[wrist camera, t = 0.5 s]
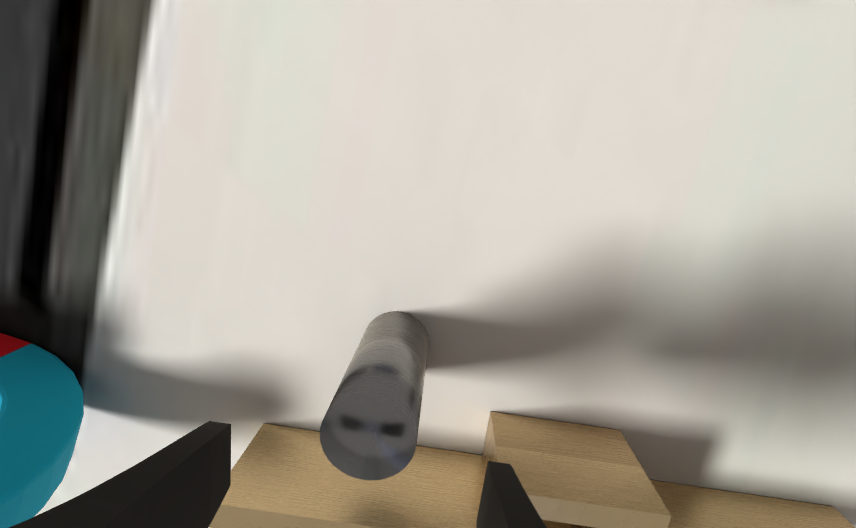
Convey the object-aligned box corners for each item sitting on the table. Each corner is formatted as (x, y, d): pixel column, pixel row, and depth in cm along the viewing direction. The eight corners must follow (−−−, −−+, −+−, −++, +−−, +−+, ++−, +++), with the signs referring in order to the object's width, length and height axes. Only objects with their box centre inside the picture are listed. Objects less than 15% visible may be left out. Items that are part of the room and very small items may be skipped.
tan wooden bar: (805, 565, 22) (906, 682, 17) (261, 484, 22) (209, 576, 18) (852, 463, 20) (977, 561, 15) (265, 378, 21) (208, 447, 16)
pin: (424, 375, 20) (410, 486, 14) (361, 366, 20) (316, 472, 14) (432, 316, 20) (421, 403, 13) (367, 307, 20) (322, 389, 13)
